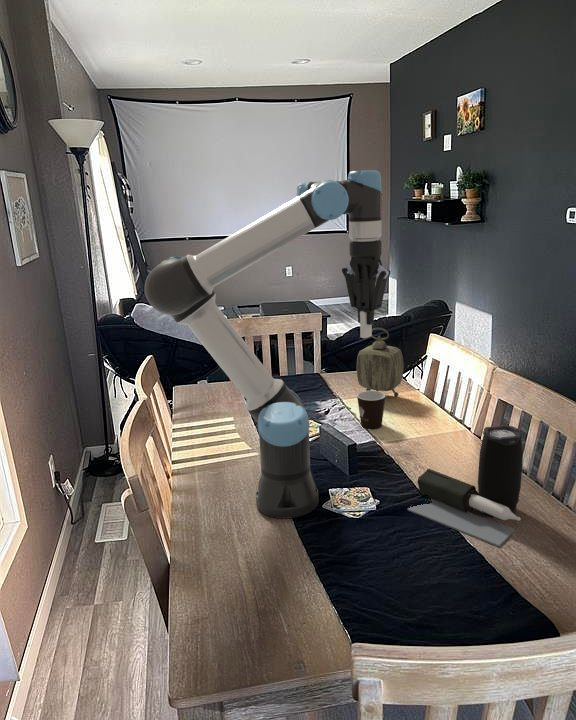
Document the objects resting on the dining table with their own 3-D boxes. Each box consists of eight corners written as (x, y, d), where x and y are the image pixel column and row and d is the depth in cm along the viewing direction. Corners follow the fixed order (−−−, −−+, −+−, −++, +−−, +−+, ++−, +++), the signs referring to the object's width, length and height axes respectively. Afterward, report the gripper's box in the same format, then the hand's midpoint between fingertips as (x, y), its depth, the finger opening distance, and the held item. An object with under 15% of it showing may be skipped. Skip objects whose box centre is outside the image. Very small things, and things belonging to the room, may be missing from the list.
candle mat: (499, 547, 120) (499, 545, 120) (407, 510, 135) (407, 508, 135) (514, 531, 125) (514, 529, 125) (424, 497, 140) (424, 496, 140)
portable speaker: (469, 510, 134) (472, 431, 129) (493, 496, 140) (497, 419, 134) (502, 525, 128) (507, 443, 122) (526, 510, 133) (532, 430, 128)
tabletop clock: (403, 396, 207) (403, 327, 200) (393, 404, 200) (393, 333, 193) (365, 390, 215) (365, 323, 207) (354, 398, 207) (353, 329, 200)
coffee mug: (387, 430, 179) (387, 399, 176) (358, 431, 179) (358, 400, 177) (382, 416, 190) (382, 387, 187) (355, 417, 190) (355, 388, 188)
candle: (429, 466, 142) (525, 503, 123) (433, 483, 145) (528, 521, 125) (416, 478, 140) (512, 517, 121) (420, 495, 142) (515, 536, 123)
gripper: (397, 238, 136) (397, 337, 143) (353, 237, 145) (354, 330, 152) (378, 241, 131) (378, 344, 138) (333, 240, 140) (335, 336, 146)
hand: (366, 336), depth 145 cm, fingers closed
